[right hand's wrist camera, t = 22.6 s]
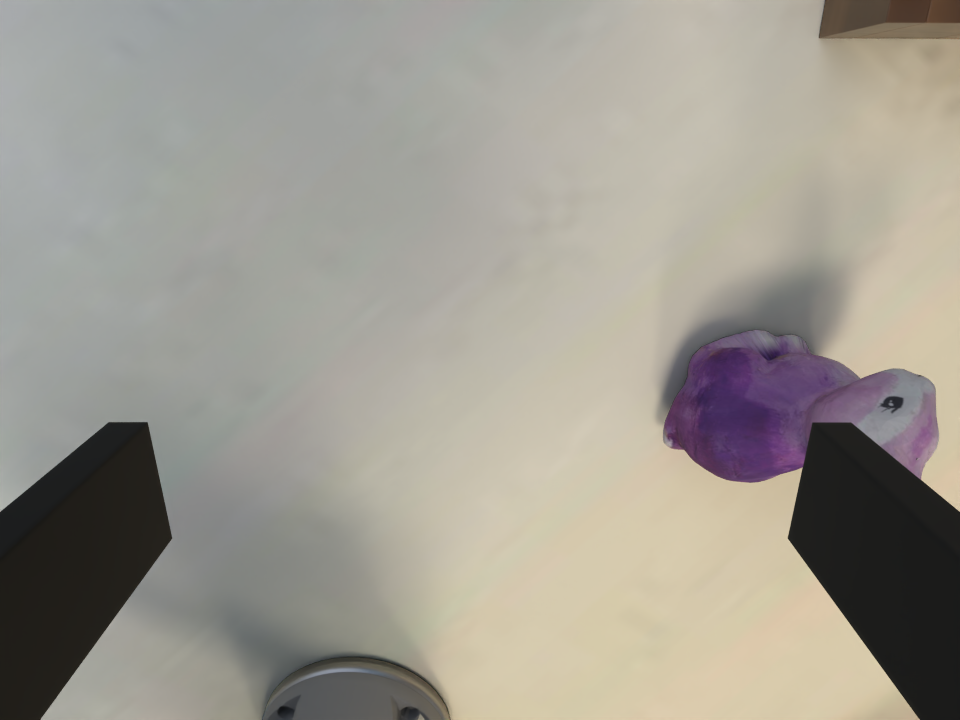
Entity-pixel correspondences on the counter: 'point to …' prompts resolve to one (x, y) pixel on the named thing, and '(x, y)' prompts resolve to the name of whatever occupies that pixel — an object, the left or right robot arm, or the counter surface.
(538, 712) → the counter surface
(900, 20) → the peg board
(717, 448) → the figurine
